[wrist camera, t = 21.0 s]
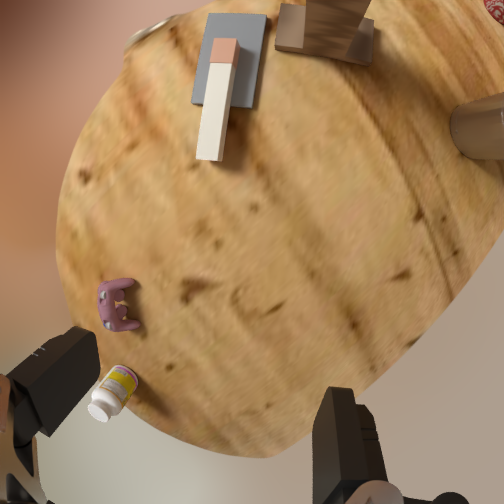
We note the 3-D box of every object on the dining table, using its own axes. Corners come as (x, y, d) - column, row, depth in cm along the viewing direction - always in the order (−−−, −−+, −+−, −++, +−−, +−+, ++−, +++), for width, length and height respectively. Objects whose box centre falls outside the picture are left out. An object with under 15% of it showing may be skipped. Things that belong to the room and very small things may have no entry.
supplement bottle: (125, 390, 58) (98, 427, 45) (107, 367, 57) (77, 402, 44) (145, 384, 56) (119, 424, 44) (126, 360, 55) (96, 398, 43)
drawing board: (267, 17, 35) (266, 14, 34) (252, 108, 40) (251, 107, 39) (210, 16, 36) (208, 13, 35) (192, 104, 40) (190, 103, 39)
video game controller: (122, 272, 51) (90, 282, 46) (136, 277, 49) (102, 289, 43) (129, 320, 54) (100, 332, 48) (143, 328, 51) (112, 342, 46)
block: (240, 46, 36) (236, 38, 33) (223, 161, 41) (217, 161, 38) (219, 46, 36) (214, 38, 33) (201, 159, 42) (194, 158, 39)
